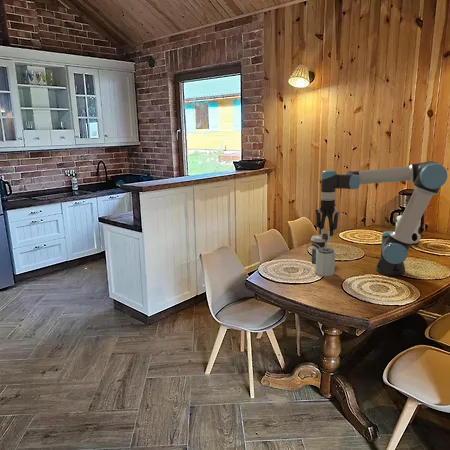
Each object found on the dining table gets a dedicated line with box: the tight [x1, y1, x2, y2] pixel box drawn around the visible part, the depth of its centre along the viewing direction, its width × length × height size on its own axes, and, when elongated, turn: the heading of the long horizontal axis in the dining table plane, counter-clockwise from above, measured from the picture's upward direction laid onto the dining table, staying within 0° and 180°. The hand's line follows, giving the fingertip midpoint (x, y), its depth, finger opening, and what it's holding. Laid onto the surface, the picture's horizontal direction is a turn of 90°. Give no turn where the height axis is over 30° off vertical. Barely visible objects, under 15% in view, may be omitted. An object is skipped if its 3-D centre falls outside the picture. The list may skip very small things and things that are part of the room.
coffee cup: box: [310, 234, 325, 262], centre depth 238 cm, size 10×10×15 cm
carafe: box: [311, 247, 336, 277], centre depth 218 cm, size 13×10×14 cm
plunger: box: [323, 233, 328, 254], centre depth 215 cm, size 7×7×18 cm
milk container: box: [394, 214, 422, 245], centre depth 268 cm, size 17×17×18 cm
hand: (326, 240), depth 213 cm, fingers closed on plunger, 4 cm apart
